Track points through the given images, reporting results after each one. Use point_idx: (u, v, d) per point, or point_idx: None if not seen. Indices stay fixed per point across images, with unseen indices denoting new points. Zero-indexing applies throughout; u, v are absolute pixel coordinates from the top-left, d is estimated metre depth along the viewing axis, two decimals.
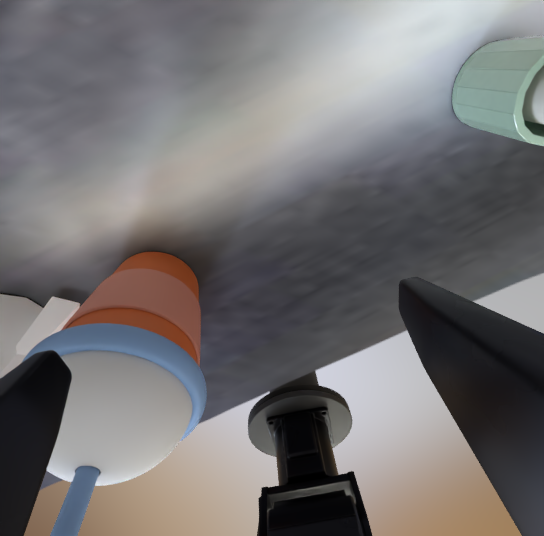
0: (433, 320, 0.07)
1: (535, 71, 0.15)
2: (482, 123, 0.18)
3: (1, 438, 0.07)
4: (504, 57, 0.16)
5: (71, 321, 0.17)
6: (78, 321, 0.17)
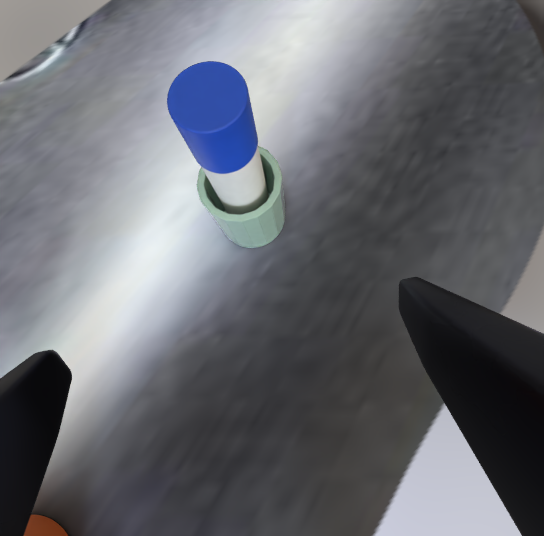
0: (433, 320, 0.07)
1: (204, 184, 0.18)
2: (236, 236, 0.20)
3: (1, 438, 0.07)
4: None
5: None
6: None
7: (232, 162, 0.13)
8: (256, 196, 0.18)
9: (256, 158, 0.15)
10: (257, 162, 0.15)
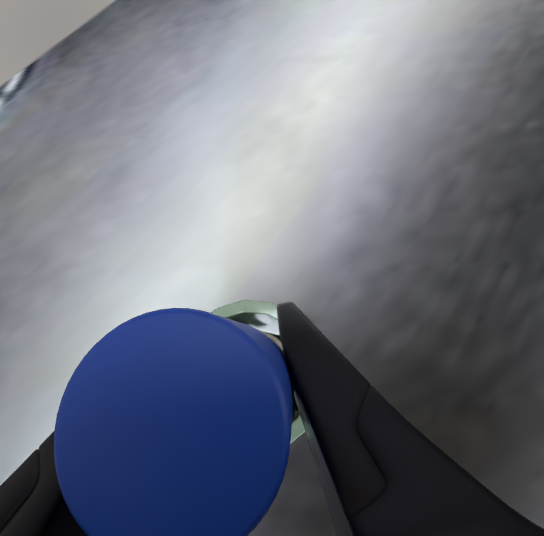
0: (283, 349, 0.07)
1: None
2: None
3: None
4: None
5: None
6: None
7: None
8: None
9: None
10: None
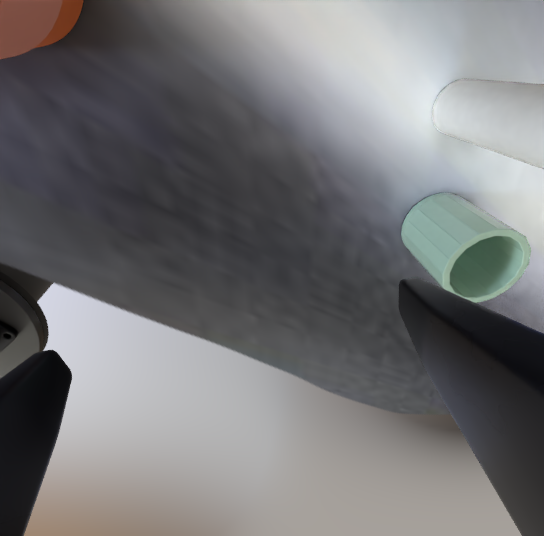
0: (433, 320, 0.07)
1: (495, 235, 0.17)
2: (423, 236, 0.20)
3: (1, 438, 0.07)
4: (479, 211, 0.18)
5: None
6: None
7: None
8: (495, 150, 0.15)
9: None
10: None
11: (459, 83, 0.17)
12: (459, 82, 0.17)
